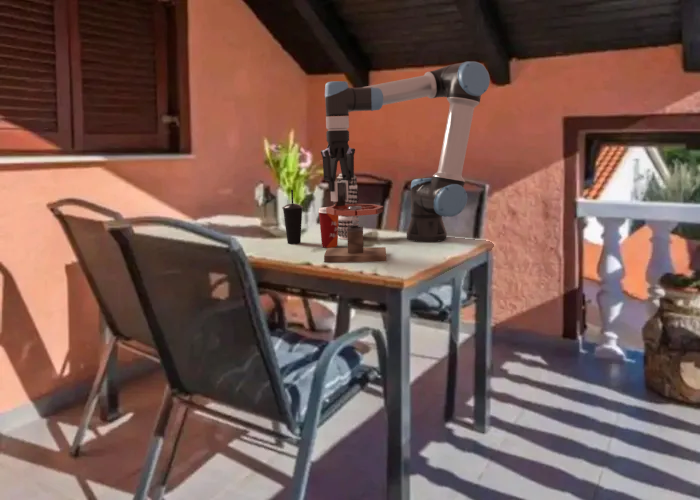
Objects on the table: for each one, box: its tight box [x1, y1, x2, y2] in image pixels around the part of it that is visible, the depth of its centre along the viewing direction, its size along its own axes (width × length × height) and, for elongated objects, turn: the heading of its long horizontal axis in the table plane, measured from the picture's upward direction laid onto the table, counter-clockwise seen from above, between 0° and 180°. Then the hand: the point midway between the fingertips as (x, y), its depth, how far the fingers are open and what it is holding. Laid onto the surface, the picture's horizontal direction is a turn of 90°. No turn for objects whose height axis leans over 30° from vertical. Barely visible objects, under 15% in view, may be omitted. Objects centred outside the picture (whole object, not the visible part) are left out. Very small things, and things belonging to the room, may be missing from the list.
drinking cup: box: [281, 189, 304, 245], centre depth 250 cm, size 8×8×20 cm
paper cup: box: [318, 206, 339, 249], centre depth 242 cm, size 8×8×14 cm
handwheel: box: [326, 181, 385, 228], centre depth 219 cm, size 18×18×15 cm
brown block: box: [323, 225, 387, 263], centre depth 222 cm, size 20×14×10 cm
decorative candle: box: [336, 172, 360, 241], centre depth 259 cm, size 9×9×25 cm
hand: (339, 200), depth 225 cm, fingers open, 4 cm apart
